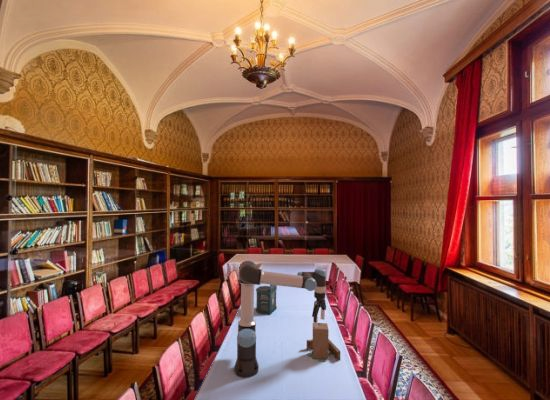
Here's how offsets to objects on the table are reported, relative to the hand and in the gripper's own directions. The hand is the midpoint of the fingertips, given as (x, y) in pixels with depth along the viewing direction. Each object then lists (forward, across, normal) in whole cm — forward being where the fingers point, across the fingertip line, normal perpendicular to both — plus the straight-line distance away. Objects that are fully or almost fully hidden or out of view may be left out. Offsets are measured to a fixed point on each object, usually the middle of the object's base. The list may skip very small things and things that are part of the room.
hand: (319, 322), depth 204 cm
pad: (+22, 0, -1) cm, 22 cm away
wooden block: (+22, +1, -1) cm, 22 cm away
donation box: (+23, +50, +72) cm, 91 cm away
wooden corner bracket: (+22, +3, -2) cm, 23 cm away
